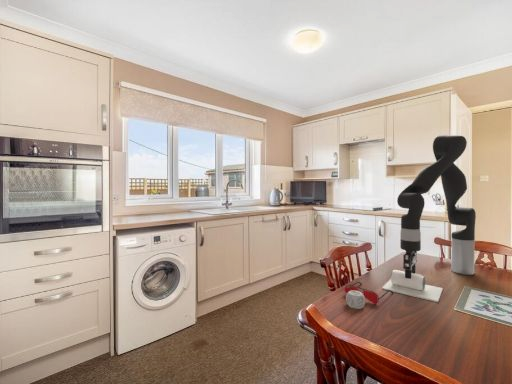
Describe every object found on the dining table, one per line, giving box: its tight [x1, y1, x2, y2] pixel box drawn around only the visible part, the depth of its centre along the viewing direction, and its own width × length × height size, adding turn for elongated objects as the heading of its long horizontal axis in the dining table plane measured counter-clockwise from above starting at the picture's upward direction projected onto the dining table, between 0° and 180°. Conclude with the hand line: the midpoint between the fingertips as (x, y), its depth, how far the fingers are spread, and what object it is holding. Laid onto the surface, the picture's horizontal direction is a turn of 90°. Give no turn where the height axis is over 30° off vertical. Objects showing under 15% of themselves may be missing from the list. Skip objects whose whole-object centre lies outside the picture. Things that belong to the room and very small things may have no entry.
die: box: [345, 290, 366, 310], centre depth 96 cm, size 5×5×5 cm
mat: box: [381, 278, 444, 303], centre depth 111 cm, size 16×20×1 cm
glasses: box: [343, 281, 394, 305], centre depth 107 cm, size 14×16×5 cm
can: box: [390, 269, 426, 290], centre depth 112 cm, size 6×6×12 cm
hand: (410, 275), depth 111 cm, fingers open, 8 cm apart
